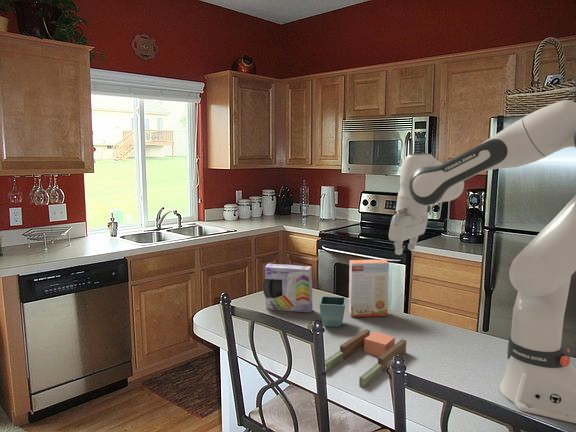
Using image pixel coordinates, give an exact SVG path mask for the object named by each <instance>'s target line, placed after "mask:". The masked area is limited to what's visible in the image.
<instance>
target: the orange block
mask: <svg viewBox="0 0 576 432" xmlns="http://www.w3.org/2000/svg"><path fill="white" fill-rule="evenodd" d="M395 344H396V337H395V336H393V335H388V334H385V333H382V332H381V333H380V332H377V331H373V332H372V333H370V335H369V336H368V337H366V338H365V339H364V346H363V352H364V353H366V354H370V355H373V356H376V357H379V356H381V355H382V354H383V353H385V352H386V351H387V350H388V349H390V348H391V347H392V346H394V345H395Z"/></svg>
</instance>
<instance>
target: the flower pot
mask: <svg viewBox="0 0 576 432" xmlns="http://www.w3.org/2000/svg"><path fill="white" fill-rule="evenodd" d="M346 300H347V299H346V297H344V296H325V295H322V296H321V299H320V302H319V312H320V318H321V321H322V323H323V325H324V326H325V327H334V328H335V327H336V328H339V327H341V325H342V324H343V321H344V314H345V310H346Z"/></svg>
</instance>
